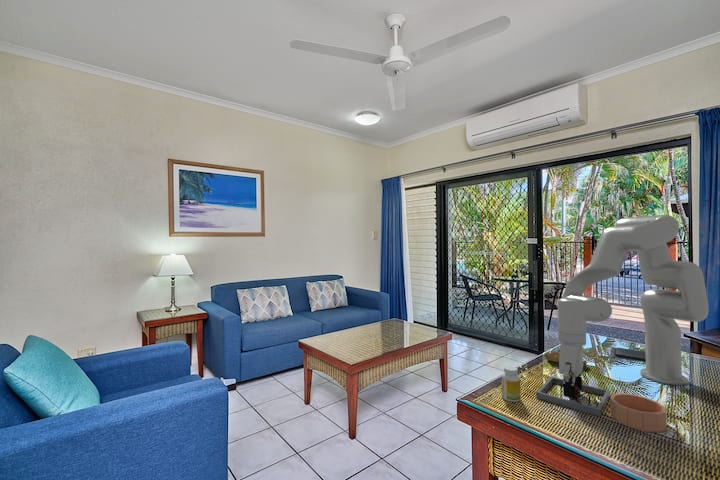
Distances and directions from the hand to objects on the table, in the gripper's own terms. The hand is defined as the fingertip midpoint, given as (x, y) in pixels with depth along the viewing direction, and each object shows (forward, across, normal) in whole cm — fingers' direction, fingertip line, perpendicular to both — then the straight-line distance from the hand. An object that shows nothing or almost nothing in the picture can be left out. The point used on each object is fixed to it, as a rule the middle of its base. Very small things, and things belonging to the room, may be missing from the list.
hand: (572, 392), depth 105 cm
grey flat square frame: (+1, 0, 0) cm, 1 cm away
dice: (+2, 0, 0) cm, 2 cm away
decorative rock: (+2, -30, -9) cm, 31 cm away
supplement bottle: (+2, +14, -14) cm, 20 cm away
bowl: (+1, +4, +16) cm, 17 cm away
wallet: (+2, -61, +12) cm, 62 cm away
